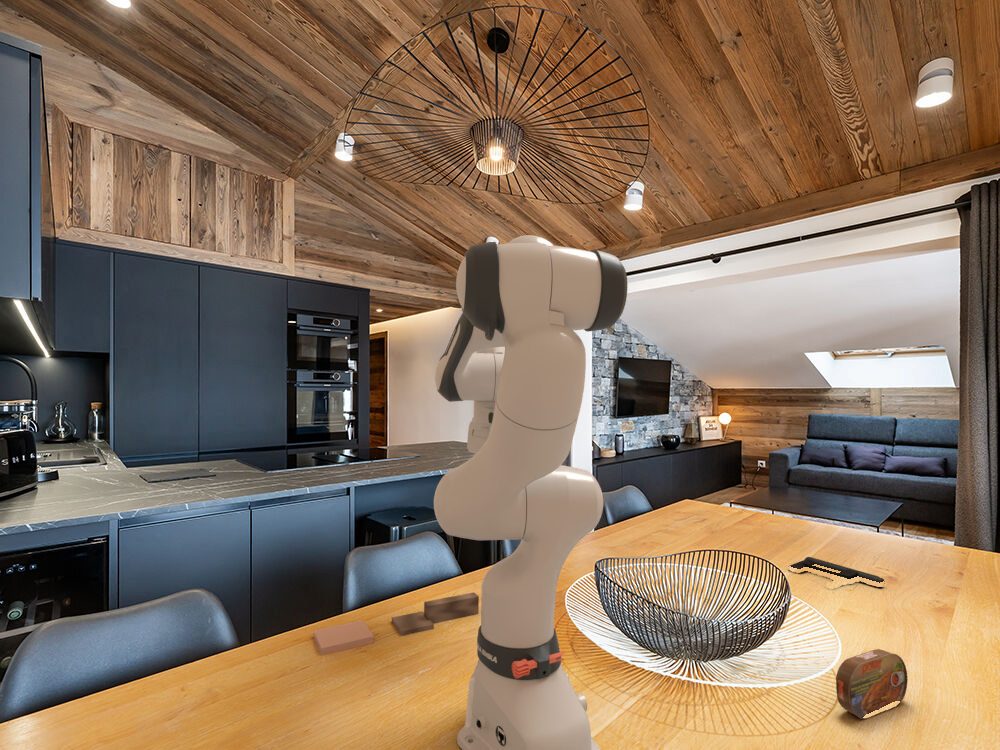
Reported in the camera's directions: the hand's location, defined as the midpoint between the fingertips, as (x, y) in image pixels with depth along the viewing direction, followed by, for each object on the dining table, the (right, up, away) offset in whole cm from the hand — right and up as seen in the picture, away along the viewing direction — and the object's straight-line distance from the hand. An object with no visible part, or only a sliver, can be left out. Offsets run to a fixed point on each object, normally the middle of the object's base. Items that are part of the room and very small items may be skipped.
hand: (492, 478), depth 111 cm
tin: (+62, -32, -29) cm, 75 cm away
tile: (-25, -30, -7) cm, 40 cm away
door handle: (+93, -34, +28) cm, 103 cm away
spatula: (-12, -31, 0) cm, 33 cm away
